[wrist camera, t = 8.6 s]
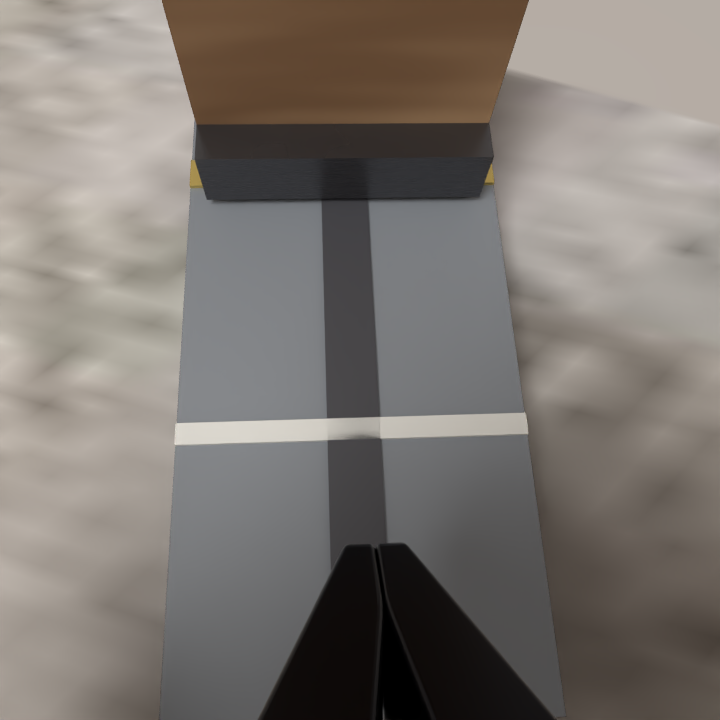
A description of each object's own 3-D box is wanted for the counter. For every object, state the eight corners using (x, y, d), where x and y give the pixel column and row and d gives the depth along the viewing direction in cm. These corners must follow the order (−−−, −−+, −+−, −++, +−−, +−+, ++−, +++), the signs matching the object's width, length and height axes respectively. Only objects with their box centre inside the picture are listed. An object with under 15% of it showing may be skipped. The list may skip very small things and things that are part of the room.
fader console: (536, 702, 15) (567, 717, 13) (180, 722, 14) (156, 740, 12) (469, 159, 20) (484, 110, 18) (208, 161, 20) (193, 111, 18)
